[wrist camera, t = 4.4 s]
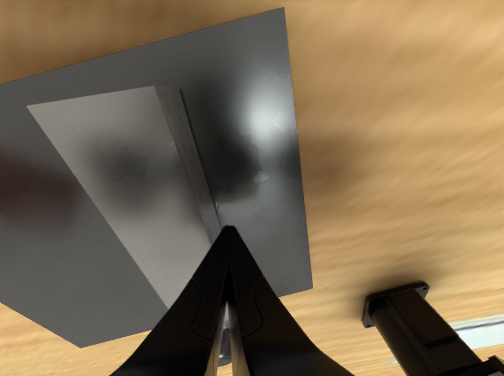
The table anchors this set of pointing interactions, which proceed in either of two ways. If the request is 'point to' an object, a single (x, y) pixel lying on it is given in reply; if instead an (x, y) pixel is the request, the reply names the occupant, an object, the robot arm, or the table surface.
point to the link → (140, 177)
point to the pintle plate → (213, 163)
